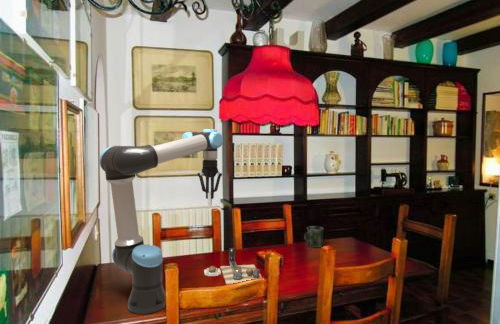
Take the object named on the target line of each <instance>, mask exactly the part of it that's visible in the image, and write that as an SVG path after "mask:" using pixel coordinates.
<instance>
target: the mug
mask: <svg viewBox="0 0 500 324" xmlns="http://www.w3.org/2000/svg"><path fill="white" fill-rule="evenodd" d="M306 229H307V232H304V237H303V238H304V241H305V242H306V244H307V247H309V248H313V247H320V248H322V247H323V246H324V229H325V228H324V226H317V225H311V226H310V225H309V226H307V227H306Z"/></svg>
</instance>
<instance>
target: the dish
mask: <svg viewBox="0 0 500 324" xmlns="http://www.w3.org/2000/svg"><path fill="white" fill-rule="evenodd" d="M215 268H216V271H215V272H214V273H210V272H209V267H207V268H206V269H203V273H204V276H207V277H216V276H217V277H218V276H219V275H222V270H221V268H217V267H215Z"/></svg>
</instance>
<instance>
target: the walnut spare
mask: <svg viewBox="0 0 500 324" xmlns="http://www.w3.org/2000/svg"><path fill="white" fill-rule="evenodd" d="M208 268H209V272H210V273H214V272H215V271H216V268H217V267H216V266H215V265H210V266H209V267H208Z"/></svg>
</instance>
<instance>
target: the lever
mask: <svg viewBox="0 0 500 324" xmlns="http://www.w3.org/2000/svg"><path fill="white" fill-rule="evenodd" d="M228 261H229V266H231V267H232V270H233V272H234V274H235V276H241V275H242V268H241V266H237V265H238V264H237V262H236V248H234V247H230V248H228Z"/></svg>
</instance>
